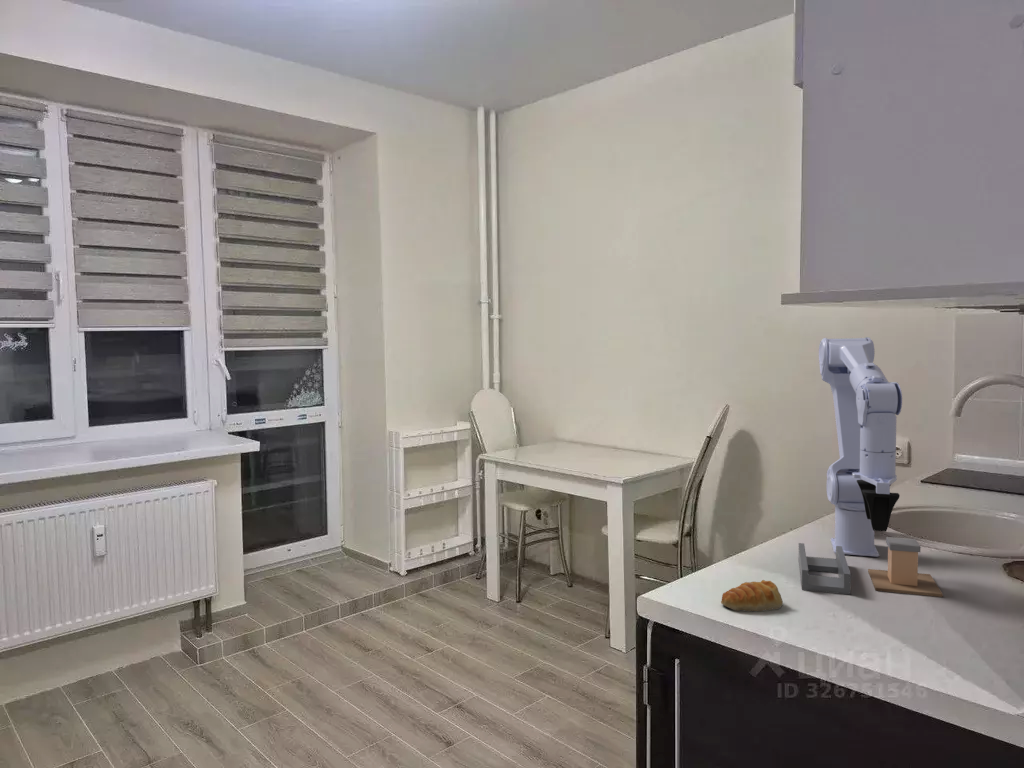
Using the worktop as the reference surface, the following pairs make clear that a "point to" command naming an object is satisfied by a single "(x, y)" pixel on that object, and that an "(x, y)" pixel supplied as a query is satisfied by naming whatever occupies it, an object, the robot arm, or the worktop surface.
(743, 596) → the pastry
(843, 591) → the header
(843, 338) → the robot arm
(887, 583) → the walnut pad
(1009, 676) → the worktop surface
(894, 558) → the plug
